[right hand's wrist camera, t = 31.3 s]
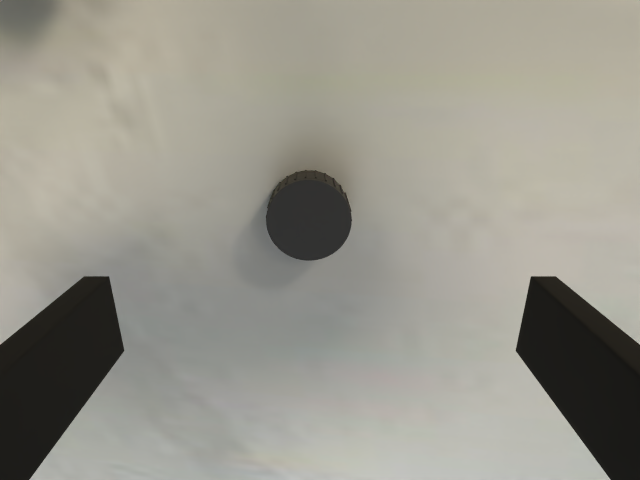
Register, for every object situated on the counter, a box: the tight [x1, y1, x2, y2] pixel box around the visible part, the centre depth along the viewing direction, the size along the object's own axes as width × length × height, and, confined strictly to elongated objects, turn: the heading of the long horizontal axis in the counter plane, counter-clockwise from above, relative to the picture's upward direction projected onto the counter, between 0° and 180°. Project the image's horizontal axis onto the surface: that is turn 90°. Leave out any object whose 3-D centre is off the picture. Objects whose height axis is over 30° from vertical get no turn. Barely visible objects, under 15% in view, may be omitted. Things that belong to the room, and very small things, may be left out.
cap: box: [266, 170, 352, 260], centre depth 23 cm, size 5×5×2 cm
